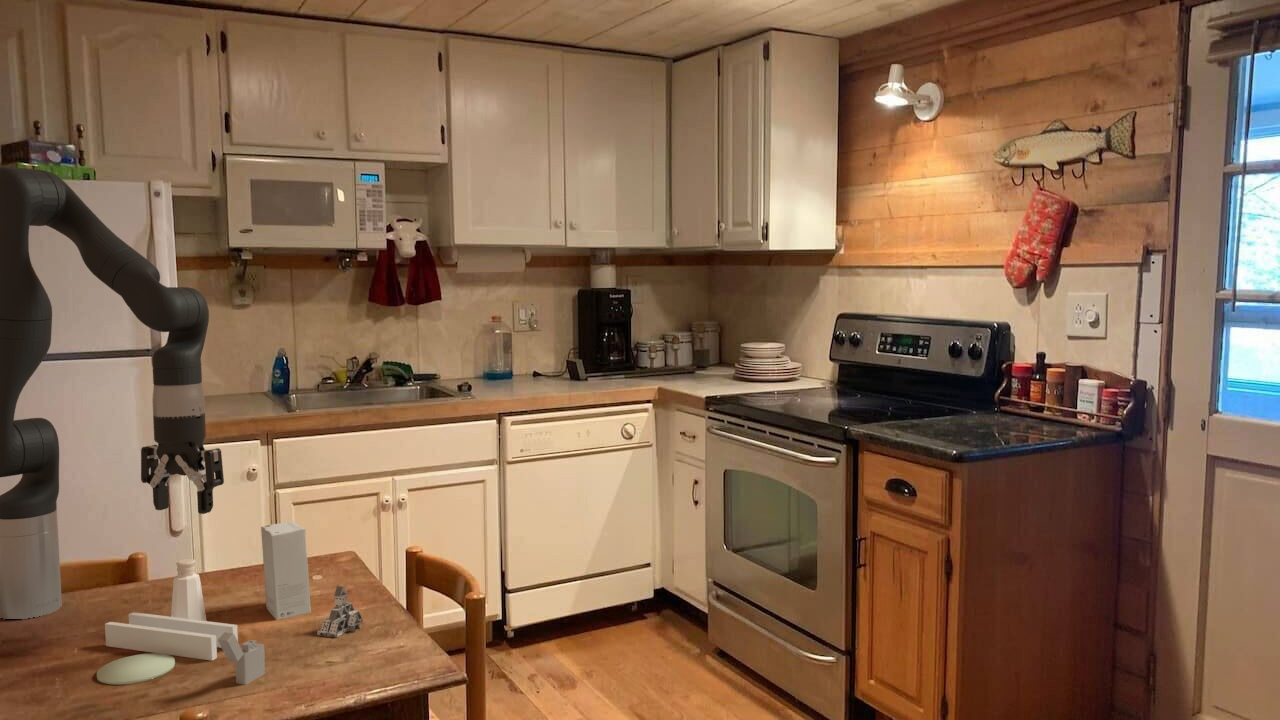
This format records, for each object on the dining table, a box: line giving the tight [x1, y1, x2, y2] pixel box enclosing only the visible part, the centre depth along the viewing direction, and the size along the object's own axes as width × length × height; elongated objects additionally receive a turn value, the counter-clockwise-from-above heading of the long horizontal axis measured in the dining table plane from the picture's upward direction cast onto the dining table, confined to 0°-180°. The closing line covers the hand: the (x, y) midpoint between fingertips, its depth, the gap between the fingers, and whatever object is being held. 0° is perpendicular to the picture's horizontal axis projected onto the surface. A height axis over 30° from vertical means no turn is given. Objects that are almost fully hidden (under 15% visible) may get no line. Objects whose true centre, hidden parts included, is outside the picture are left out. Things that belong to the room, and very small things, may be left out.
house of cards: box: [316, 585, 364, 639], centre depth 150 cm, size 9×9×8 cm
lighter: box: [218, 632, 266, 685], centre depth 132 cm, size 7×2×8 cm, turn 161°
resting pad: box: [96, 652, 176, 686], centre depth 136 cm, size 10×10×1 cm
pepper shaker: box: [170, 558, 208, 621], centre depth 153 cm, size 5×5×11 cm
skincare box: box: [260, 520, 312, 621], centre depth 160 cm, size 8×6×15 cm
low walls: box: [104, 611, 239, 661], centre depth 145 cm, size 20×6×4 cm, turn 73°
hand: (183, 511), depth 152 cm, fingers open, 8 cm apart
